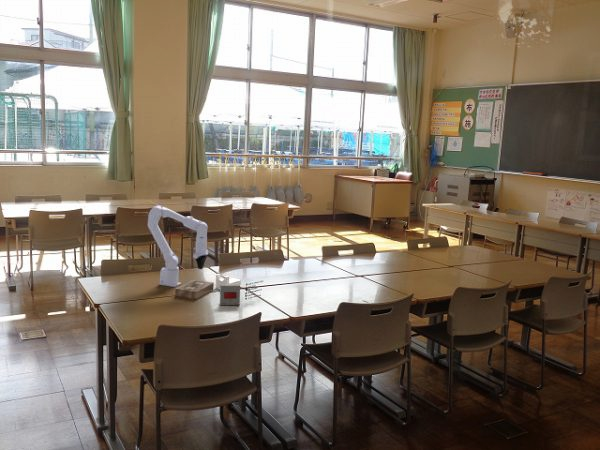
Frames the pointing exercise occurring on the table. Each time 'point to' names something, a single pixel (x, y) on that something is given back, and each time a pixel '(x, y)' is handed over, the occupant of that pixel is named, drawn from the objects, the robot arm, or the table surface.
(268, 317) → the table surface
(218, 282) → the bracket
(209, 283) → the band block
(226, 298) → the voltmeter
